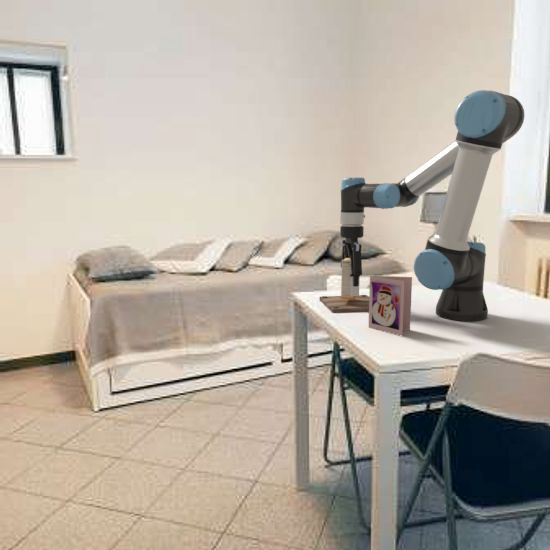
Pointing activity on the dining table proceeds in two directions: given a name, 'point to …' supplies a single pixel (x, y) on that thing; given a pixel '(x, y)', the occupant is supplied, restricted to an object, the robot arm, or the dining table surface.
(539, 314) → the dining table surface
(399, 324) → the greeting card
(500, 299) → the dining table surface
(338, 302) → the plate
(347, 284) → the supplement box
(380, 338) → the dining table surface
